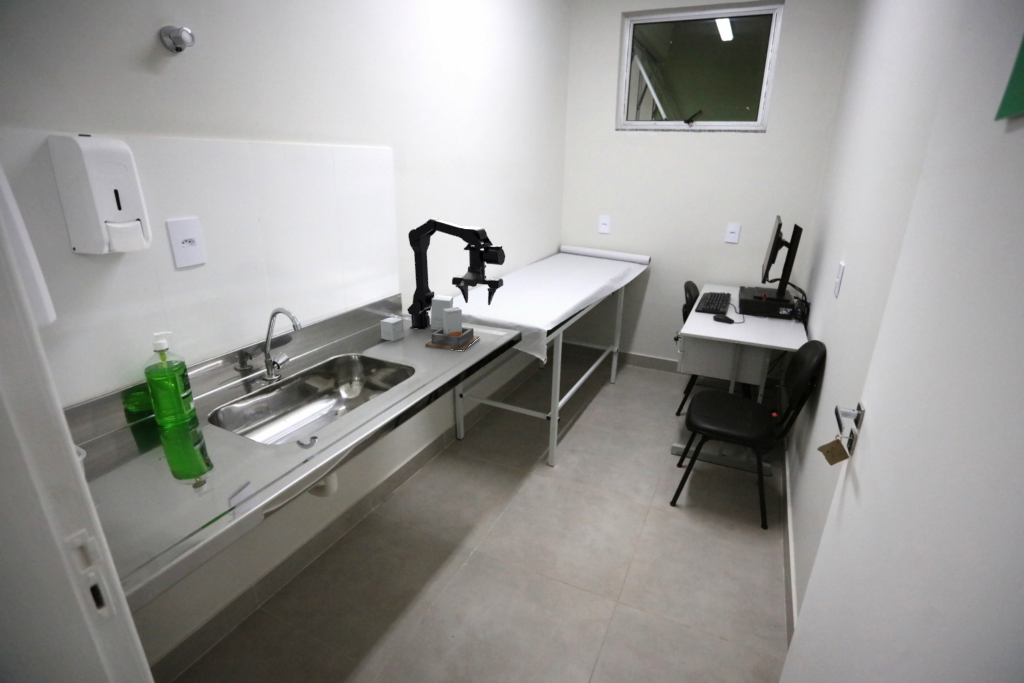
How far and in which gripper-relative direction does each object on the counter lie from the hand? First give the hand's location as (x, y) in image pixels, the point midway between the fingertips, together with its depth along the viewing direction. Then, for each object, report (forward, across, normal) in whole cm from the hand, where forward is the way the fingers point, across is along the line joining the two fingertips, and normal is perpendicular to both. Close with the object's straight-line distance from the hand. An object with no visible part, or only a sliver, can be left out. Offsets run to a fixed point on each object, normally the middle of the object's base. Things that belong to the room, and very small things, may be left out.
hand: (477, 303), depth 191 cm
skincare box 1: (+13, -30, -13) cm, 35 cm away
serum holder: (+13, -6, -10) cm, 17 cm away
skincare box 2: (+12, -6, -10) cm, 17 cm away
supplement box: (+13, -18, +4) cm, 23 cm away
